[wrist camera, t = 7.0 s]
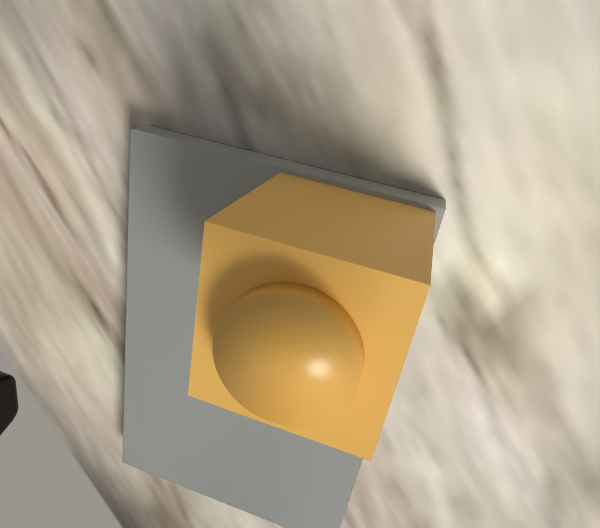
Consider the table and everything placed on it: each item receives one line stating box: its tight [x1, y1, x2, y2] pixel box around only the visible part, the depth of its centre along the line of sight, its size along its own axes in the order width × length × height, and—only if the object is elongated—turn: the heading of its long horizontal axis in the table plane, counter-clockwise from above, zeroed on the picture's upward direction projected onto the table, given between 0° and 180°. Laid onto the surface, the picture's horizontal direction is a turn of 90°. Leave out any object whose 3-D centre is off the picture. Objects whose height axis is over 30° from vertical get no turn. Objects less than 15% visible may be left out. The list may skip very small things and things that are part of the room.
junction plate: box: [123, 125, 446, 528], centre depth 20 cm, size 18×12×5 cm, turn 170°
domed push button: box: [188, 172, 436, 461], centre depth 15 cm, size 6×6×7 cm
